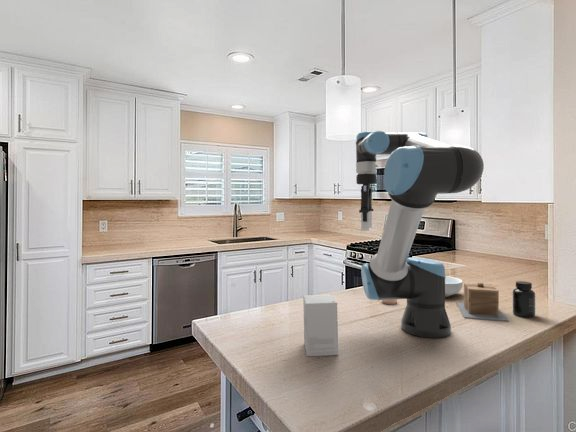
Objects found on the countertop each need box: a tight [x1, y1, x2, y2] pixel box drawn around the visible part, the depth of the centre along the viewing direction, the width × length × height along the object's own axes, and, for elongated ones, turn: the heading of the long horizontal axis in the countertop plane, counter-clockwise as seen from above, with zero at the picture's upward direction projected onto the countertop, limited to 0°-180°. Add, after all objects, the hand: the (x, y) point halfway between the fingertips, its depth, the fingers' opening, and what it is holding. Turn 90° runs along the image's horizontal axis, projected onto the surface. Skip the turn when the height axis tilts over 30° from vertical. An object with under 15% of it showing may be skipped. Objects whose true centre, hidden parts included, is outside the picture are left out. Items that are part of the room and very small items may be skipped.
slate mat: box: [455, 302, 510, 322], centre depth 128 cm, size 18×14×1 cm
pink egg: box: [381, 299, 398, 305], centre depth 142 cm, size 6×6×3 cm
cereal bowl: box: [445, 275, 463, 298], centre depth 153 cm, size 17×17×7 cm
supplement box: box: [302, 294, 339, 357], centre depth 98 cm, size 9×9×15 cm
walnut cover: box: [463, 282, 500, 316], centre depth 128 cm, size 10×10×10 cm
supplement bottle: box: [512, 280, 536, 319], centre depth 124 cm, size 7×7×12 cm
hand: (366, 229), depth 131 cm, fingers open, 13 cm apart
